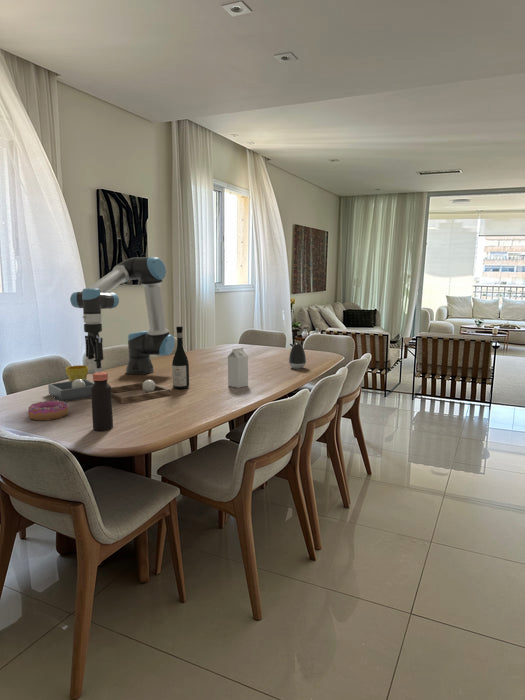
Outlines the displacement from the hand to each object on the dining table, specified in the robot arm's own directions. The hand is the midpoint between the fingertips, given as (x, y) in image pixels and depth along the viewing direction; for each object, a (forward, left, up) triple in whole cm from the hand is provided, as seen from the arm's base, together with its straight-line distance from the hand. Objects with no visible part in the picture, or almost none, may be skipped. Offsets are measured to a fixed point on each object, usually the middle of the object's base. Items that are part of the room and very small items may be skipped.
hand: (95, 373), depth 214 cm
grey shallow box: (+7, -8, -10) cm, 15 cm away
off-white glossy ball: (+4, -8, -9) cm, 13 cm away
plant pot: (-1, -25, -10) cm, 27 cm away
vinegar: (+17, +48, -10) cm, 52 cm away
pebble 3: (-21, +10, -10) cm, 26 cm away
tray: (-14, +10, -10) cm, 20 cm away
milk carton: (-61, +27, -10) cm, 67 cm away
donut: (+27, +19, -11) cm, 35 cm away
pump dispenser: (-117, +13, -10) cm, 118 cm away
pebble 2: (0, 0, 0) cm, 0 cm away
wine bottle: (-38, +11, -10) cm, 41 cm away
